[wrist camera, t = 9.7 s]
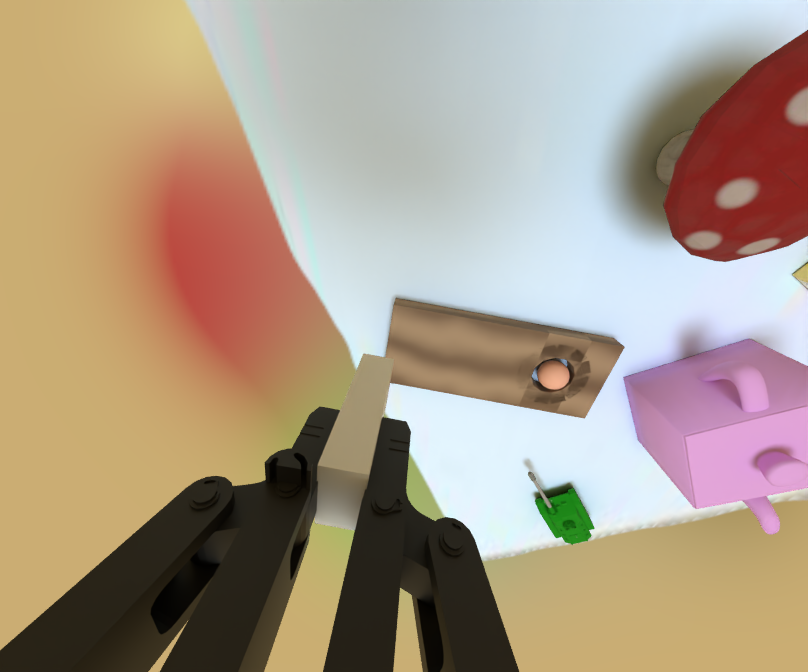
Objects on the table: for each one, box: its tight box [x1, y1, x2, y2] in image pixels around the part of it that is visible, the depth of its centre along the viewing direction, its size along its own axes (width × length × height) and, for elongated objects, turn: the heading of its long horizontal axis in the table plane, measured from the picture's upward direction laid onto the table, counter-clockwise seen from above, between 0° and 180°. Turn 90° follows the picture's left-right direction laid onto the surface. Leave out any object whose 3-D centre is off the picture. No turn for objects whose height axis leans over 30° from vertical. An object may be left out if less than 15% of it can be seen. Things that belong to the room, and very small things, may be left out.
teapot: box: [623, 339, 808, 534], centre depth 38 cm, size 15×25×14 cm, turn 26°
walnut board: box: [385, 298, 624, 418], centre depth 42 cm, size 12×30×2 cm, turn 81°
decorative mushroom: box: [656, 30, 808, 262], centre depth 25 cm, size 16×16×15 cm
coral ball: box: [537, 360, 570, 389], centre depth 42 cm, size 4×4×4 cm
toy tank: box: [528, 472, 594, 545], centre depth 52 cm, size 7×19×5 cm, turn 31°
